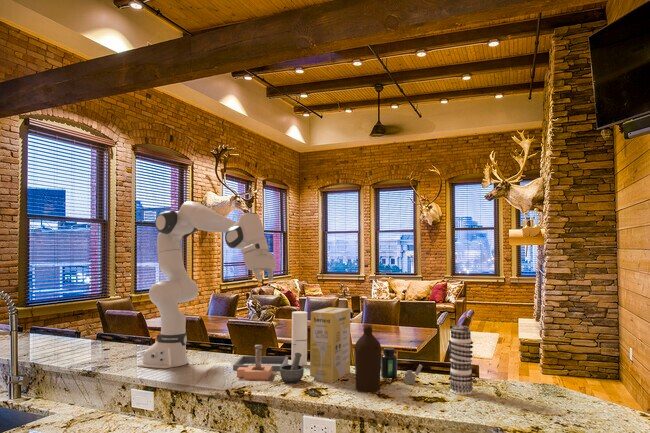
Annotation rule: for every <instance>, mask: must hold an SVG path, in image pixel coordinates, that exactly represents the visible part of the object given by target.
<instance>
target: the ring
mask: <svg viewBox="0 0 650 433" xmlns="http://www.w3.org/2000/svg"><path fill="white" fill-rule="evenodd" d="M272 372H273V371H272V366H261V370H255V366H248V367H239V368H238V369H237V370H236V377H237V378H240V377H244V379H262V380H268V379H269V377H270V376H271V374H272Z"/></svg>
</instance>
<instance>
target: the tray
mask: <svg viewBox="0 0 650 433" xmlns="http://www.w3.org/2000/svg"><path fill="white" fill-rule="evenodd" d="M255 364H256V355H241V356H240V357H239V358H238V359H237V361H235V362H234V364H233V365H232V370H233V371H237V369H238V368H239V367H248V366H255ZM284 365H289V357H288V356H279V355H277V356H275V355H273V356H272V355H271V356H270V355H261V366H272V372H280V367H281V366H284Z"/></svg>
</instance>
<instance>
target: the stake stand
mask: <svg viewBox="0 0 650 433" xmlns="http://www.w3.org/2000/svg"><path fill="white" fill-rule="evenodd" d="M254 349H255V356H256V364H254V365H255V370H261V365H262V364H261V356H262V352H263V351H262V350H263V344H255V345H254ZM277 373H278V371H272V374H271V376H270V377H269V379H268V380H262V379H244V377H238V378H239V379H237V381H243V382H244V381H245V382H247V381H248V382H273V381H274V379H275V377H276V375H277Z"/></svg>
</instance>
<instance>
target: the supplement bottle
mask: <svg viewBox="0 0 650 433" xmlns="http://www.w3.org/2000/svg"><path fill="white" fill-rule="evenodd" d="M395 351H396V350H395V348H394V347H383V351H382V354H381V371H380V378H382V377H383V379H385V378H395V379H397V378H398V357H397V355H396V354H395Z"/></svg>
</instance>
